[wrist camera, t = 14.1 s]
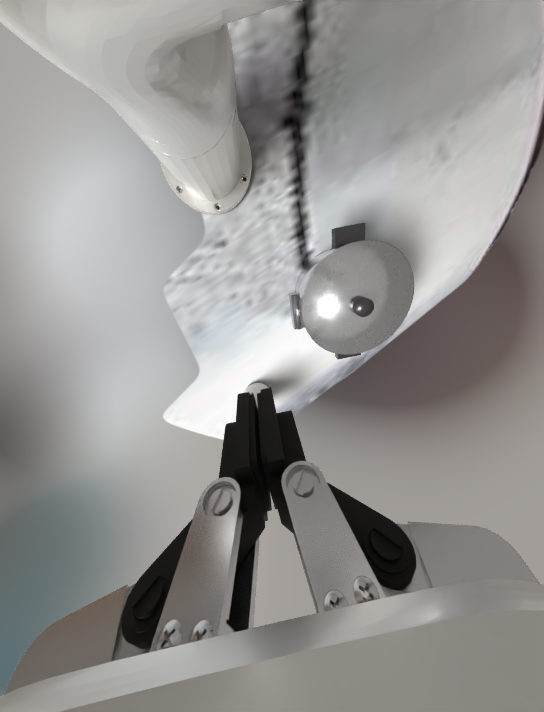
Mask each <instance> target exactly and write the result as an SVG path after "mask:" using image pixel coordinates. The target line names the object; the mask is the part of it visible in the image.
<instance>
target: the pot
mask: <svg viewBox="0 0 544 712" xmlns="http://www.w3.org/2000/svg"><path fill="white" fill-rule="evenodd" d="M364 240H365V223H361V224H355V225H350V226H345V227H339V228H334V229H332V250H328V251H325V252H323V253H321V254H319V255H317V256H316V257H315V258H313V259H312V260H311V261H310V262H309V263H308V264H307V265H306V266H305V268H304V269H303V270H302V272H301V274H300V276H299V278H298V280H297V283H296V287H295V293H291V294H289V298H290V306H291V314H292V322H293V327H294V329H297V321H296V312H295V304H294V296H298V298H299V299H301V298H302V294H303V290H304V287H305V285H306V282H307V280H308V278H309V276H310V275H311V273H312V271H313V270H314V268H315V267H316V266H317V265H318V264H319V262H320V261H321V260H322V259H324V258H325V257H326V256H327V255H328V254H330V253H331V252H332V251H334V250H336V249H337V248H339V247H341V246H343V245H346V244H348V243H352V242H356V241H364ZM357 355H361V353H357V354H350V355H344V354H337V353H335V357H336V358H337V359H342V358H347V357H352V356H357Z"/></svg>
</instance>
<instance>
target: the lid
mask: <svg viewBox="0 0 544 712" xmlns="http://www.w3.org/2000/svg"><path fill="white" fill-rule="evenodd" d="M413 294H414V278H413V273H412V270H411V267H410V264H409V263H408V261H407V259H406V258H405V256H404V255H403V254H402V253H401V252H400V251H399V250H398V249H396V248H395V247H393V246H392V245H390V244H387V243H385V242H381V241H376V240H364V241H356V242H352V243H348V244H346V245H343V246H341V247H339V248H337V249H336V250H334V251H332V252H331V253H330V254H328V255H327V256H326V257H325V258H324V259H322V260H321V261H320V262H319V264H318V265H317V266H316V267H315V268H314V270H313V271H312V273H311V275H310V276H309V278H308V280H307V282H306V285H305V287H304V290H303V294H302V298H301V299H299V298H298V296H294V304H295V312H296V321H297V329H302V328H304V327H305V328H306V330H307V332H308V334H309V335H310V336H311V338H312V339H313V340H314V341H315V342H316V343H317V344H318V345H319V346H320V347H322V348H324V349H325V350H327V351H330V352H333V353H337V354H344V355H350V354H357V353H362V352H365V351H368V350H370V349H372V348H375V347H376V346H378V345H380V344H381V343H383V342H384V341H385V340H387V339H388V338H389V337H390V336H391V335H392V334H393V333H394V332H395V331H396V330H397V329H398V328H399V326H400V325H401V324H402V322H403V321H404V319H405V317H406V316H407V313H408V311H409V309H410V306H411V303H412V299H413Z"/></svg>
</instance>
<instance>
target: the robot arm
mask: <svg viewBox="0 0 544 712" xmlns="http://www.w3.org/2000/svg"><path fill="white" fill-rule="evenodd" d="M293 1H296V0H0V22H1V23H2V24H3V25H5V26H6V27H7V28H8V29H9V30H10V31H12V32H13V33H14V34H15V35H17V36H18V37H19V38H20V39H21V40H22V41H24V42H25V43H26V44H28V45H29V46H30V47H32V48H33V49H34V50H36V51H37V52H38V53H40V54H41V55H42V56H44V57H45V58H46V59H48V60H49V61H51V62H52V63H53V64H55V65H56V66H57V67H59V68H60V69H62V70H63V71H65V72H66V73H67V74H69V75H71V76H72V77H73V78H75V79H76V80H78V81H79V82H81V83H82V84H84V85H85V86H87V87H88V88H90V89H91V90H93V91H94V92H96V93H97V94H98V95H99V96H101V97H102V98H103V99H104V100H105V101H106V102H107V103H108V104H109V105H110V106H111V107H112V108H113V109H114V110H115V111H116V112H117V113H118V114H119V115H120V116H121V117H122V118H123V119H124V120H125V122H126V123H127V124H128V125H129V126H130V127H131V128H132V129H133V130H134V131H135V133H136V134H137V135H138V136H139V137H140V138H141V140H142V141H143V142H144V143H145V144H146V145H147V146H148V147H149V148H150V149H151V151H152V152H153V153H154V154H155V155H156V156H157V157H158V158H159V160H160V164H161V168H162V170H163V173H164V175H165V178H166V179H167V181H168V183H169V185H170V187H171V188H172V189H173V191H174V192H175V193H176V194H177V196H178V197H179V198H180V199H181V200H182V201H184V202H185V203H186V204H187V205H188V206H190V207H191V208H193V209H195V210H197V211H199V212H202V213H205V214H213V215H215V214H222V213H225V212H227V211H230V210H231V209H233V208H234V207H235V206H236V205H237V204H238V203H239V202H240V201H241V200H242V198H243V197H244V195H245V194H246V191H247V189H248V186H249V183H250V178H251V170H252V156H251V150H250V145H249V141H248V138H247V135H246V132H245V130H244V128H243V126H242V124H241V122H240V121H239V119H238V114H237V99H236V85H235V70H234V58H233V51H232V44H231V39H230V34H229V30H228V26H227V23H230V22H233V21H236V20H239V19H242V18H245V17H248V16H251V15H254V14H257V13H260V12H263V11H266V10H269V9H272V8H275V7H278V6H281V5H284V4H287V3H290V2H293ZM243 178H246V181H243ZM180 189H182V193H180V192H179V190H180ZM217 206H219V207H220V209H219V210H218V209H217ZM260 391H261V392H260V393H257V404H258V408H257V404H256V400H255V397H254V394H251V395H250V393H249V392H246V393H241V394H238V400H237V414H236V422H233V423H228V424H226V427H225V434H224V442H223V450H222V458H221V466H220V473H219V478H218V479H217V480H215V481H213V482H212V483H210V484H209V485H208V486H207V487H206V488H205V490H204V491H203V492H202V495H201V496H200V499H199V501H198V504H197V508H196V510H195V514H194V517H193V519H192V520H191V522H189V524H188V525H187V526H186V527H185V528H184V529H183V530H182V531H181V533H180V534H179V535H178V536H177V537H176V538H175V539H174V540H173V541H172V543H171V544H170V545H169V546H168V547H167V548H166V549H165V550H164V552H163V553H162V554H161V555H160V556H159V557H158V558H157V559H156V560H155V562H154V563H153V564H152V565H151V566H150V567H149V568H148V569H147V571H146V572H145V573H144V574H143V575H142V576H141V577H140V579H139V580H138V581H137V583H136V584H134V585H132V586H130V587H129V586H128V585H126V586H123V587H121V588H119V589H117V590H116V591H113V592H112V593H110V594H108V595H106V596H104V597H102V598H100V599H98V600H96V601H94V602H92V603H90V604H88V605H86V606H84V607H83V608H81V609H79V610H77V611H75V612H73V613H71V614H69V615H67V616H65V617H63V618H61V619H59V620H58V621H56V622H54V623H53V624H51V625H50V626H49V627H47V628H46V629H45V630H44V631H43V632H42V633H41V634H40V635H39V636H38V637H37V638H36V639H35V640H34V641H33V642H32V644H31V645H30V646H29V648H28V649H27V651H26V652H25V654H24V655H23V656H22V658H21V659H20V661H19V663H18V665H17V667H16V669H15V671H14V672H13V674H12V677H11V679H10V681H9V683H8V686H7V688H6V690H5V693H4V695H3V696H1V697H0V712H544V585H542V584H540V583H539V582H538V580H537V579H536V577H535V576H534V575H533V573H532V572H531V570H530V569H529V568H528V566H527V565H526V563H525V562H524V560H523V559H522V558H521V556H520V555H519V554H518V553H517V552H516V550H515V549H514V548H513V547H512V546H511V545H510V544H509V543H508V542H507V541H505V540H504V539H503V538H502V537H500V536H499V535H497V534H496V533H494V532H492V531H490V530H488V529H486V528H481V527H478V526H468V525H452V524H437V523H421V522H408V523H407V524H395V523H394V522H393V521H391V520H390V519H388V518H386V517H385V516H383V515H381V514H380V513H378V512H376V511H375V510H373V509H371V508H369V507H368V506H366V505H364V504H363V503H361V502H359V501H358V500H356V499H354V498H353V497H351V496H349V495H348V494H346V493H344V492H342V491H341V490H339V489H337V488H336V487H334V486H332V485H331V484H329V483H327V482H326V480H325V478H324V476H323V474H322V472H321V471H320V470H319V468H318V467H317V466H315V465H314V464H313V463H310V462H308V461H306V460H305V456H304V452H303V449H302V445H301V442H300V438H299V435H298V432H297V428H296V425H295V421H294V418H293V414H292V411H286V412H281V413H277V414H276V409H275V404H274V399H273V395H272V390H271V387H270V388H266V389H261V390H260ZM270 493H271V496H272V499H273V502H274V506H275V509H278V512H279V516H280V519H281V523H282V524H283V525H284V526H285V527H286V528H288V529H289V530H290V531H291V532H292V533H293V534H294V538H295V541H296V544H297V548H298V551H299V554H300V558H301V561H302V565H303V568H304V572H305V575H306V578H307V582H308V585H309V588H310V592H311V595H312V599H313V602H314V605H315V609H316V612H317V613H316V614H312V615H308V616H303V617H299V618H294V619H290V620H286V621H281V622H277V623H273V624H269V625H265V626H260V627H256V628H253V623H254V609H255V595H256V581H257V567H258V554H259V536H260V535H261V533H262V531H263V530H264V528H265V521H267V520H268V518H267V511H270V510H271V497H270Z"/></svg>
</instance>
